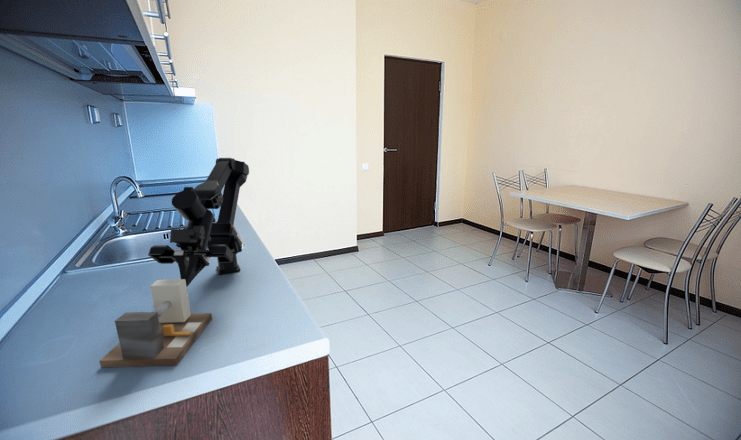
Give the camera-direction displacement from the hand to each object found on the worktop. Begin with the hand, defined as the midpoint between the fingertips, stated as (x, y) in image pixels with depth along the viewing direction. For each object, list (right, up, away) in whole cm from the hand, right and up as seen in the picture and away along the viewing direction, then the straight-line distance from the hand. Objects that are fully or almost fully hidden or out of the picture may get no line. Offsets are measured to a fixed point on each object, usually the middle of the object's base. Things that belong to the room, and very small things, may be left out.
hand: (184, 286), depth 81 cm
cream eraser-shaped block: (0, -7, -6) cm, 9 cm away
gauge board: (0, -10, -10) cm, 14 cm away
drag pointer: (+4, -8, -10) cm, 14 cm away
